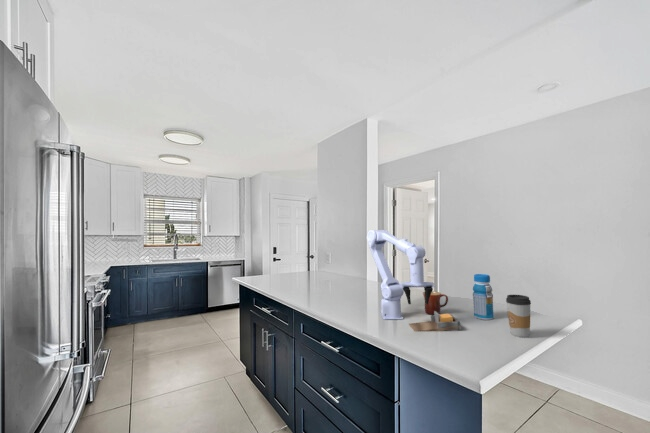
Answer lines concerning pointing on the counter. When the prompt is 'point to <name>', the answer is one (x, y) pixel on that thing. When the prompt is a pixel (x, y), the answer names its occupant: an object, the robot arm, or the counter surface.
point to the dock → (436, 325)
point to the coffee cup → (519, 315)
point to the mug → (434, 303)
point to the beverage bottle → (483, 297)
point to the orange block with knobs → (443, 317)
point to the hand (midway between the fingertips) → (417, 303)
